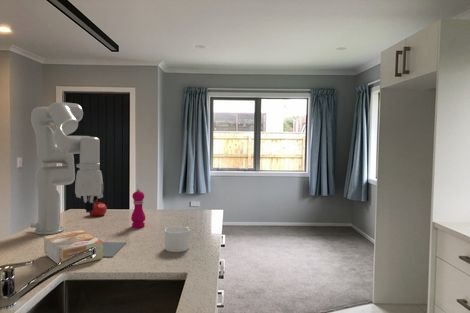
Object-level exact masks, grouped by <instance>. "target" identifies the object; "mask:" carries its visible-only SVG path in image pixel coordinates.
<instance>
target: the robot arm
mask: <svg viewBox="0 0 470 313" xmlns="http://www.w3.org/2000/svg"><path fill="white" fill-rule="evenodd" d="M83 116H84V111H83V108H82V106H81V105H80V104H78V103H72V102H62V101H57V102H53V103H51V104H50V105H49V106H38V107H37V106H36V107H34V108H33V110H32V111H31V114H30V121H31V126H32V129H33V131H34V133H35V139H36V142H35V143H36V152H37V153H36V155H37V159H38V161H39V163H41V164H49V165H50V164H51V166H47V165H46V166H42V167H39V168H38V169H37V170H36V172H35V181H36V182H35V183H36V187H37V188H36V189H37V216H38V217H37V218H38V220H37V222H31V223H30V228H35V229H34V234H37V235H44V236H45V235H46V236H47V235H56V234H60V233H63V232H64V227H63V226H61V196H60V192H59V191H58V190H57V189H56V187H58V186H67V185H68V186H69V185H72V184H73V183H74V182H75V184H74V187H75V188H74V193H75V197H76V198H79V199H81V200H82V201H83V203H84V207H85V208H84V210H85V212H86V213H88V214H89V213H91V212H92V211H93V210H94V202H95V203H96V200H98V199H102V198H104V194H103V193H104V181H103V173H102V170H100V165H101V164H100V161H101V160H100V157H101V156H100V154H101V152H100V147H101V146H100V138H99V137H96V136H90V135H71V134H72V133H74V132H76V131H77V129H78V127H79V122H80V121H81V120H82V119H83ZM49 125H50V126H56V127H55V129H54V130H53V129H52V127H50V126H49ZM76 154H77V155H78V154H79V163H76V165H75V156H74V155H76ZM52 164H61V165H54V166H52ZM75 166H76V168H78V170H77V172H76V171H75V170H76V168H75Z"/></svg>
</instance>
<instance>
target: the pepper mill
mask: <svg viewBox="0 0 470 313" xmlns="http://www.w3.org/2000/svg"><path fill="white" fill-rule="evenodd" d="M132 199H133V201H132V202H133V205H134V207H133V208H134V209H133V210H132V214H131V218H130V220H131V222H132V223H131V227H132V228H135V229H140V228H144V227H145V220H146V214H145V212H144V209H143V204H144V199H145V193H144V192H143V191H141V189H140V187H138V188H137V189H136V191H134V192H133V193H132Z"/></svg>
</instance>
